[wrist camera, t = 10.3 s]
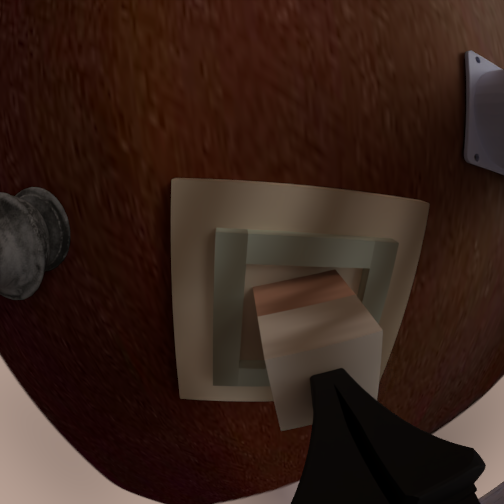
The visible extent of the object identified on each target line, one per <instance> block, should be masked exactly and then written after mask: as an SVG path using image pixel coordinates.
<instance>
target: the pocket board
mask: <svg viewBox="0 0 504 504" xmlns="http://www.w3.org/2000/svg"><path fill="white" fill-rule="evenodd" d="M429 206H430V203H427V202H424V201H422V200H417V199H410V198H404V197H397V196H391V195H384V194H376V193H369V192H361V191H353V190H345V189H336V188H327V187H317V186H307V185H296V184H284V183H271V182H257V181H242V180H223V179H199V178H174V179H172V182H171V276H172V302H173V321H174V337H175V350H176V363H177V374H178V384H179V393H180V399H193V400H212V401H274V399H273V395H272V390H271V386H270V381H269V377H268V373H267V368H266V364H265V359H264V353H263V347H262V341H261V335H260V329H259V323H258V317H257V311H256V305H255V298H254V292H253V287H255V286H260V285H265V284H270V283H275V282H279V281H284V280H289V279H294V278H298V277H303V276H307V275H312V274H317V273H321V272H326V271H330V270H334V269H335V270H336V271H337V272H338V273H339V275H340V276H341V277H342V278H343V280H344V281H345V282H346V283H347V285H348V286H349V287H350V288H351V290H352V291H353V292H354V293H355V295H356V296H357V297H358V299H359V300H360V301H361V302H362V304H363V305H364V306H365V308H366V309H367V310H368V311H369V313H370V314H371V315H372V317H373V318H374V319H375V321H376V322H377V323H378V324H379V326H380V327H381V328H382V330H383V337H382V353H381V366H380V377H379V381H380V379H381V376H382V374H383V371H384V369H385V366H386V364H387V361H388V358H389V356H390V353H391V350H392V347H393V345H394V342H395V339H396V336H397V333H398V330H399V327H400V324H401V321H402V318H403V315H404V311H405V308H406V305H407V302H408V298H409V295H410V291H411V287H412V284H413V280H414V276H415V272H416V268H417V264H418V260H419V256H420V252H421V247H422V242H423V238H424V233H425V228H426V223H427V217H428V212H429Z"/></svg>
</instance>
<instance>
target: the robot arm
mask: <svg viewBox="0 0 504 504" xmlns="http://www.w3.org/2000/svg"><path fill="white" fill-rule="evenodd" d="M476 61H477V62H476ZM465 65H466V130H465V145H464V159H465V161H466V162H467V163H470V164H473V165H476V166H479V167H482V168H485V169H488V170H490V171H493V172H496V173H499V174H501V175H504V69H501V68H499V67H498V66H496V65H495V64H493V63H491V62H490V61H488V60H487V59H485V58H483V57H482V56H480V55H478V54H476V53H475V52H473V51H466V52H465ZM474 156H475V157H476V158H474ZM310 386H311V396H312V406H313V424H312V433H311V439H310V445H309V450H308V455H307V458H306V462H305V466H304V470H303V473H302V476H301V479H300V482H299V484H298V488H297V490H296V493H295V495H294V497H293V500H292V502H291V504H504V482H502V483H501V484H500V485H498V486H497V487H496V488H494V489H493V490H491V491H490V492H488V493H487V494H485V495H484V496H482V497H481V498H480V499H478V498H477V496H476V494H475V492H476V491H477V488H476V487H475V485H474V483H475V481H476V480H477V479H478V478H479V476H480V475H481V474H482V473H483V471H484V469H485V466H486V465H485V463H484V461H483V460H482V458H481V457H480V456H479V454H478V453H477V452H476V451H475V450H474V449H473V448H470V447H466V446H462V445H458V444H455V443H452V442H449V441H446V440H443V439H440V438H438V437H435V436H434V435H431V434H429V433H427V432H425V431H423V430H420V429H418V428H417V427H415V426H413V425H411V424H409V423H408V422H406V421H404V420H403V419H401V418H400V417H398V416H397V415H395V414H394V413H392V412H391V411H390V410H388V409H387V408H386V407H384V406H383V405H382V404H380V403H379V402H378V401H377V400H376V399H374V398H373V397H372V396H371V395H370V394H369V393H368V392H366V391H365V390H364V389H363V388H362V387H361V386H360V385H359V384H358V383H357V382H356V381H355V380H354V379H353V378H352V377H351V376H350V375H349V374H348V373H347V371H346V370H345V369H343V368H339V369H335V370H332V371H328V372H324V373H320V374H316V375H312V376H311V377H310Z"/></svg>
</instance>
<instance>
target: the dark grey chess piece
mask: <svg viewBox="0 0 504 504" xmlns="http://www.w3.org/2000/svg"><path fill="white" fill-rule="evenodd" d="M69 244H70V227H69V222H68V218H67V215H66V213H65V211H64V208H63V207H62V205H61V204H60V202H59V201H58V199H57V198H56V197H55V196H54V195H52V194H51V193H50V192H49V191H47V190H45V189H42V188H38V187H30V188H27V189H24V190H22V191H21V192H19V193H18V194H17V195H16V196H11V195H9V194H7V193H1V192H0V294H1V295H2V296H4V297H6V298H9V299H13V300H24V299H26V298H28V297H30V296H32V295H33V294H34V293H35V291H36V290H37V289H38V288H39V286H40V283H41V281H42V279H43V274H44V272H45V271H50V270H52V269H54V268H56V267H57V266H58V265H59V264H60V263H61V262H62V261H63V260H64V258H65V256H66V254H67V252H68V249H69Z"/></svg>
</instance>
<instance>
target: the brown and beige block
mask: <svg viewBox="0 0 504 504" xmlns="http://www.w3.org/2000/svg"><path fill="white" fill-rule="evenodd" d="M253 292H254V298H255V305H256V311H257V317H258V323H259V329H260V335H261V341H262V347H263V353H264V359H265V364H266V368H267V373H268V377H269V381H270V386H271V390H272V395H273V399H274V403H275V408H276V412H277V416H278V420H279V425H280V429H281V431H283V430H288V429H293V428H298V427H302V426H307V425H311V424H313V406H312V396H311V386H310V377H311V376H312V375H316V374H320V373H324V372H328V371H332V370H335V369H339V368H343V369H345V370H346V371H347V373H348V374H349V375H350V376H351V377H352V378H353V379H354V380H355V381H356V382H357V383H358V384H359V385H360V386H361V387H362V388H363V389H364V390H365V391H366V392H368V393H369V394H370V395H371V396H372V397H373V398H374V399H376V400H377V395H378V387H379V377H380V366H381V353H382V337H383V330H382V328H381V327H380V326H379V324H378V323H377V322H376V321H375V319H374V318H373V317H372V315H371V314H370V313H369V311H368V310H367V309H366V308H365V306H364V305H363V304H362V302H361V301H360V300H359V299H358V297H357V296H356V295H355V293H354V292H353V291H352V290H351V288H350V287H349V286H348V285H347V283H346V282H345V281H344V280H343V278H342V277H341V276H340V275H339V273H338V272H337V271H336V270H335V269H334V270H330V271H326V272H321V273H317V274H312V275H307V276H303V277H298V278H294V279H289V280H284V281H279V282H275V283H270V284H265V285H260V286H255V287H253Z"/></svg>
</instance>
